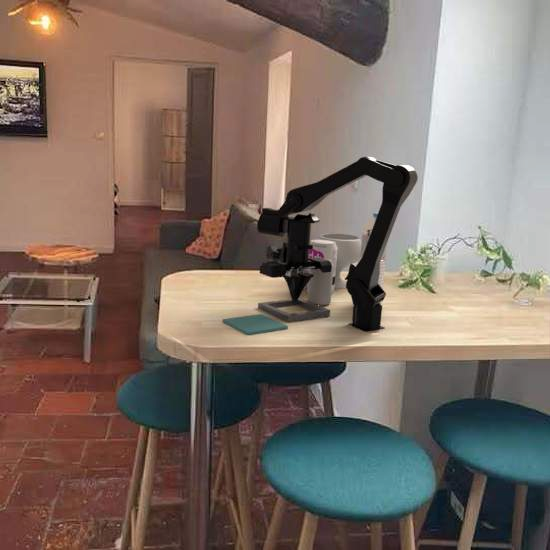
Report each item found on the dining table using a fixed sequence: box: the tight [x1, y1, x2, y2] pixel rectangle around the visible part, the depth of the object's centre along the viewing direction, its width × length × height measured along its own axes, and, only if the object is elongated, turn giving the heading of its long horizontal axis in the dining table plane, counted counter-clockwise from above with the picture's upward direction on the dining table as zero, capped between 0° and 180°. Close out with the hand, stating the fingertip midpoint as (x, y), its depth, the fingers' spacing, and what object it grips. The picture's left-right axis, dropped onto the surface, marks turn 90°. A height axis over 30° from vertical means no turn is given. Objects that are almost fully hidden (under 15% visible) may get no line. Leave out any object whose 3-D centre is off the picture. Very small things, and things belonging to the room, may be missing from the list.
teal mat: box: [222, 313, 289, 336], centre depth 145 cm, size 11×11×1 cm
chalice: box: [318, 233, 362, 289], centre depth 188 cm, size 14×14×15 cm
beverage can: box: [306, 258, 333, 307], centre depth 166 cm, size 6×6×12 cm
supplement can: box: [304, 238, 337, 295], centre depth 177 cm, size 8×8×15 cm
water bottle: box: [359, 212, 388, 305], centre depth 166 cm, size 7×7×25 cm
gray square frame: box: [257, 297, 331, 323], centre depth 158 cm, size 13×13×2 cm
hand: (294, 300), depth 157 cm, fingers closed
